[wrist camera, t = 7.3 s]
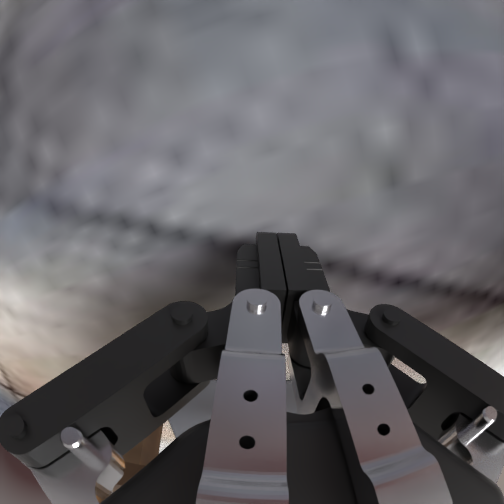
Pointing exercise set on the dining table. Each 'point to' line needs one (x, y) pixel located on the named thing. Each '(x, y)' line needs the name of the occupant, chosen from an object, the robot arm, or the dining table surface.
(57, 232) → the dining table surface
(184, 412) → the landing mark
